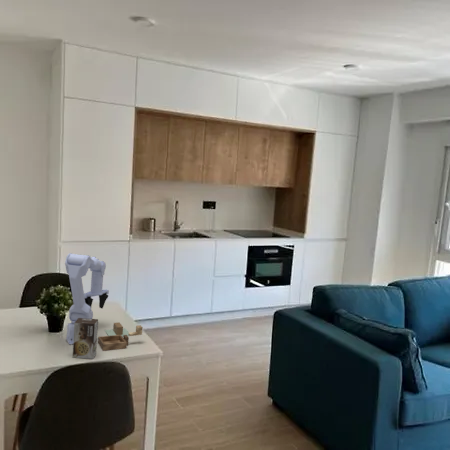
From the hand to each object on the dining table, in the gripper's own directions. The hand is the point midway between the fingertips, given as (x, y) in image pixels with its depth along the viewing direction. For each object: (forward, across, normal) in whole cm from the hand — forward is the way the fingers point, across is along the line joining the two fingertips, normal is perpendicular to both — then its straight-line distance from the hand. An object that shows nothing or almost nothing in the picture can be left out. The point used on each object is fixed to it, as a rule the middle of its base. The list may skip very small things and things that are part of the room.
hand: (95, 309), depth 231 cm
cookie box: (+11, -24, -24) cm, 35 cm away
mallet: (+6, +3, -28) cm, 28 cm away
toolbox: (+10, -7, -23) cm, 26 cm away
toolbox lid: (+11, +5, -12) cm, 17 cm away
